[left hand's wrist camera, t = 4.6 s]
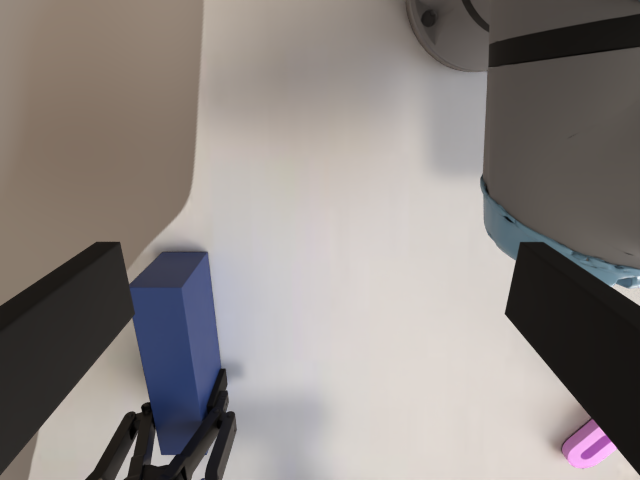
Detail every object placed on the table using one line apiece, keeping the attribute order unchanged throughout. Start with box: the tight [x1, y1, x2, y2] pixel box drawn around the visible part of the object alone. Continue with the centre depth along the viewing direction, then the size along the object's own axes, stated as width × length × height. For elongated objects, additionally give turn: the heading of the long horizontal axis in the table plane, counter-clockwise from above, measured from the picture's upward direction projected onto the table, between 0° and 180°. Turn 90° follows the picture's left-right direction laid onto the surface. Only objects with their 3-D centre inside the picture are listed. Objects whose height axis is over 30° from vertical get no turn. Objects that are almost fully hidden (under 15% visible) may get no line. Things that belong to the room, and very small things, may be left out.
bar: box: [129, 252, 221, 455], centre depth 45 cm, size 23×6×9 cm, turn 0°
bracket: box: [562, 419, 617, 468], centre depth 53 cm, size 13×6×7 cm, turn 148°
